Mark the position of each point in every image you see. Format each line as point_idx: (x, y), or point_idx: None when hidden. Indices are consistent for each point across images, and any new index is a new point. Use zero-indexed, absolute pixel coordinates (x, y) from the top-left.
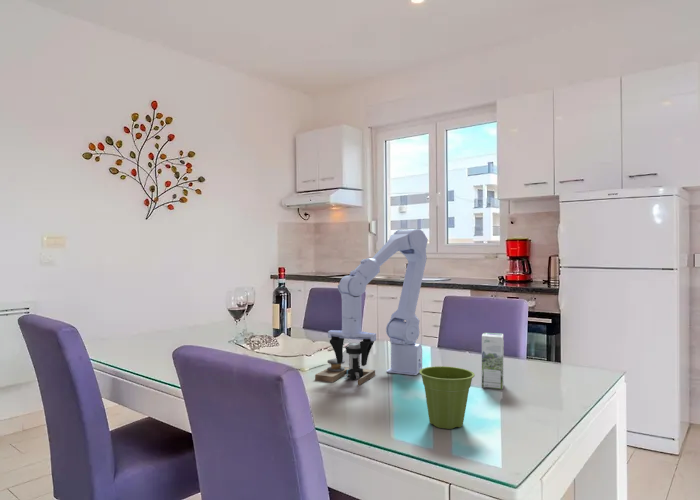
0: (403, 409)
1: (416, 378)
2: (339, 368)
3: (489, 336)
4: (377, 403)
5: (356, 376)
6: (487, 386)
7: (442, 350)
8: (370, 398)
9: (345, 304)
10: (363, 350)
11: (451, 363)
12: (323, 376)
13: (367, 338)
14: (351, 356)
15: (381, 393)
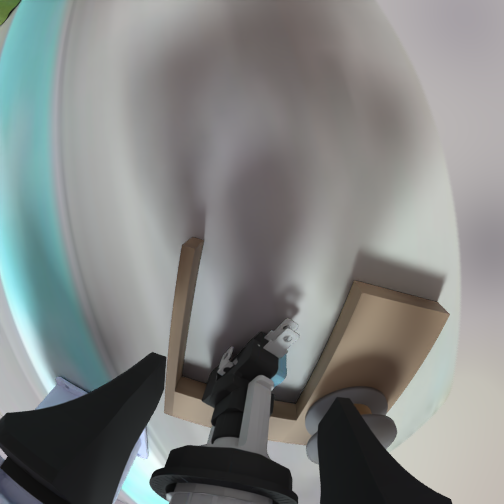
0: (46, 14)
1: (46, 350)
2: None
3: None
4: (100, 11)
5: (231, 352)
6: None
7: (120, 498)
8: (119, 43)
9: None
10: (80, 416)
11: None
12: (412, 303)
13: (35, 502)
14: (245, 441)
15: (81, 125)
